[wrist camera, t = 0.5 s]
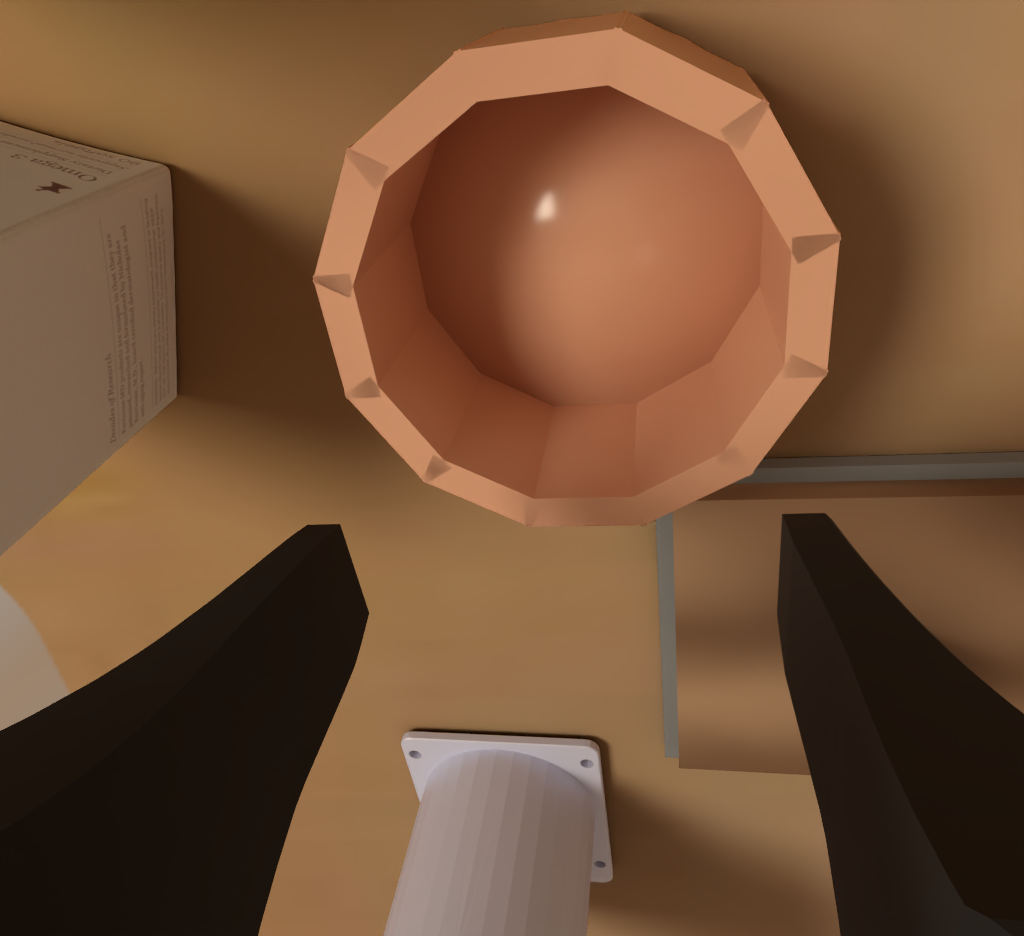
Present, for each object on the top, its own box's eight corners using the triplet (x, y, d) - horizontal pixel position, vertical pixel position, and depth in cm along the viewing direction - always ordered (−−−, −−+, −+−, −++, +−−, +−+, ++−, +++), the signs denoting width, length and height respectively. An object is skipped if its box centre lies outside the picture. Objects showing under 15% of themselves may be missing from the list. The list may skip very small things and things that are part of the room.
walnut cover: (1037, 766, 26) (1089, 876, 23) (678, 749, 29) (681, 846, 26) (1146, 474, 20) (1237, 572, 17) (672, 484, 22) (674, 571, 19)
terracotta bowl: (782, 413, 21) (814, 524, 17) (431, 426, 23) (381, 529, 19) (811, -19, 16) (865, -9, 12) (348, 48, 18) (254, 77, 14)
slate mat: (1044, 763, 27) (1050, 776, 26) (665, 746, 29) (665, 757, 29) (1164, 447, 20) (1175, 458, 19) (653, 461, 23) (653, 471, 22)
